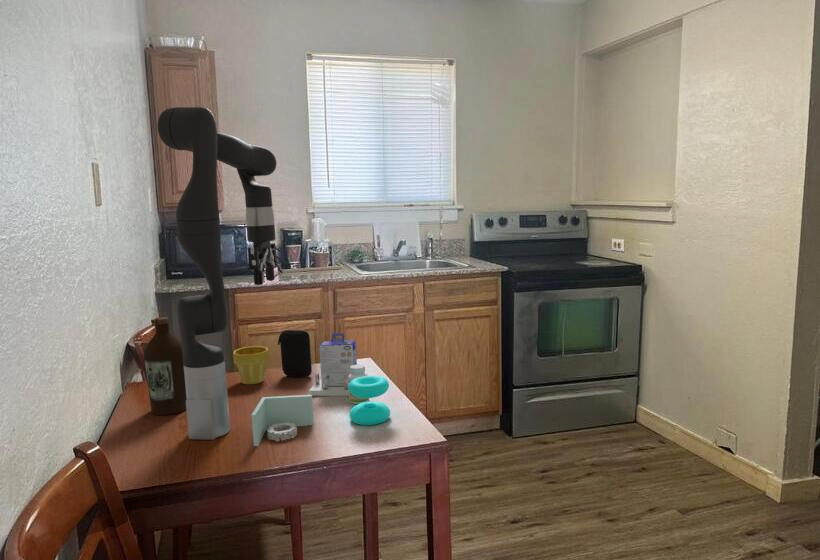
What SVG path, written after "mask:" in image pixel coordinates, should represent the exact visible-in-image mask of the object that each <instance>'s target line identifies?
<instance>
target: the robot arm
mask: <svg viewBox="0 0 820 560" xmlns="http://www.w3.org/2000/svg"><path fill="white" fill-rule="evenodd" d="M157 132H158V135H159V136H158V137H159V138H160V140H161V141H162V142H163V144H164V145H165V146H167V147H168V148H169V149H172V150H177V151H186V152H192V171H191V177H190V179H189V181H188V183H187V185H186V187H185V189H184V191H183V193H182V194H181V196H180V199H179V200H178V204H177V207H176V210H175V219H176V220H175V221H176V232H177V233H176V234H177V240H178V242H179V245H180V246H181V248H182V249H183V250H184V252H185V253H186V255H187V256H188V257H189V258H190V259H191V260H192V262H193V263H194V264H195V266H197V268H198V269H199V271H200V272H201V274H202V275H203V277H204V278H205V280H206V281H207V284H208V288H209V291H210V292H209V293H207V294H199V295H189V296H183V297H180V298H179V299H178V301H177V305H176V314H177V321H178V323H177V324H178V329H179V336H180V340H181V343H182V354H183V365H184V375H185V387H186V397H187V400H186V410H185V411H186V421H187V431H188V439H189V440H207V441H208V440H212V441H213V440H215V439H217V438H220V437H222V436H224V435H227V434H228V433H229V432H230V431H231V423H230V419H231V418H230V409H229V398H228V397H229V396H228V385H227V374H226V361H225V351H224V349H223V348H222V347H219V346H216V345H212V344H207V343H203V342H201V341H198V340H197V338H196V337H197V336H202V335H208V334H215V333H217V334H218V333H221V332H224V331H225V330H226V329H227V327H228V326H227V325H228V319H229V318H228V317H229V316H228V307H227V301H226V300H227V299H226V298H227V297H226V292H225V291H226V290H225V284H224V277H223V276H224V275H223V266H222V265H223V264H222V248H221V246H222V242H221V240H222V239H221V225H220V224H221V221H220V211H219V197H218V181H217V180H218V179H217V177H218V175H217V174H218V169H217V167H218V166H217V165H218V163H217V162H218V161H219V162H221V163H223V164H226V165H228V166H229V167H233V168H234V169H236V172H237V174H238V176H239V179H240V182H241V185H242V189H243V192H244V198H245V199H244V201H245V223H246V238H247V242H249V243H252V244H253V246H248V247H247V258H248V269H249V271H250V270H251V271H252V272H253V282H254V285H255V286H262V285H263V284H264V278H263V277H264V276H263V266H264V267H265V279H266V281H268V282H269V281H272V282H273V281H274V280H275V268H274V267H275V265H277V264H278V260H277V257H278V256H277V248H276V243H275V242H274V243H273V241H276V228H275V227H276V224H275V213H274V209H273V197H272V189H271V187H270V186H269V185H266V184H260V183H258V182H257V180H256V178H255V177H265V176H270V175H271V174H273V173H274V172H275V170H276V169H277V159H276V156H275V154H274V153H273V151H271V150H270V149H268V148H266V147H263V146H260V145H255V144H250V143H247V142H246V141H244V140H241V139H240V138H238V137H236V136H233V135H230V134H228V133H223V132H218V127H217V122H216V119H215V115H214V114H213V112H212V111H211V110H210V109H209V108H207V107H204V106H202V107H201V106H178V107H177V106H174V107H168V108H166V109H165V110H163V111H162V112H161V113H160V115H159V116H158V118H157Z"/></svg>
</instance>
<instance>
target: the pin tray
mask: <svg viewBox="0 0 820 560" xmlns="http://www.w3.org/2000/svg"><path fill="white" fill-rule="evenodd" d="M314 379H315V381H314V382H315V383H314V385H313V386H312V387H311V388H310V389H309V390H308V395H312V397H313V396H315V397H317V396H318V397H320V396H321V397H324V396H325V397H349V390H348V378H345V379H344V386H328V382H327V378H324V379H323V386H322V383H321V377H320V373H318V372H316V373H314Z"/></svg>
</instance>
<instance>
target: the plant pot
mask: <svg viewBox="0 0 820 560" xmlns="http://www.w3.org/2000/svg"><path fill="white" fill-rule="evenodd" d="M232 355H233V357H232V358H233V364H235V365H236V367H237V371H238V373H239V377H240V381H241V383H242V384H244V385H256V384H260V383H262V382H263V381H264V380H265V373H266V367H267V362H268V361H269V359H270V358H269V348H268V347H266V346H262V345H261V346H260V345H259V346H258V345H255V346H253V345H252V346H245V347H244V346H243V347H240V348H237V349H235V350H234V351H233V353H232Z"/></svg>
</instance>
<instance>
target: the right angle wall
mask: <svg viewBox="0 0 820 560" xmlns="http://www.w3.org/2000/svg"><path fill="white" fill-rule="evenodd" d="M313 402H314V401H313V396H312V395H309V394H302V395H301V394H300V395H298V394H297V395H282V396H281V395H279V396H262V397H261V399H260V400H259V402H258V403H257V405H256V406H255V408H254V410H253V412H252V413H251V415H250V416H251V428H252V441H253V447H254V446H257V447H259V445H260V443H261V442H262V439H263V438H264V435H265V434H266V431H267V434H266V435H267V436H266V437H267V439H268V440H271V441H272V440H275V442H277V441H278V442H284V441H283V440H285V441H287V440H286V439H289V440H290V438H291V439H294V438H295V437H296V436H295V435H298V434H297V433H298V427H307V425H312V426H314V425H315V420H314V406H313V405H314V403H313ZM304 425H305V426H304ZM264 433H265V434H264ZM294 436H295V437H294ZM281 440H282V441H281Z"/></svg>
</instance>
